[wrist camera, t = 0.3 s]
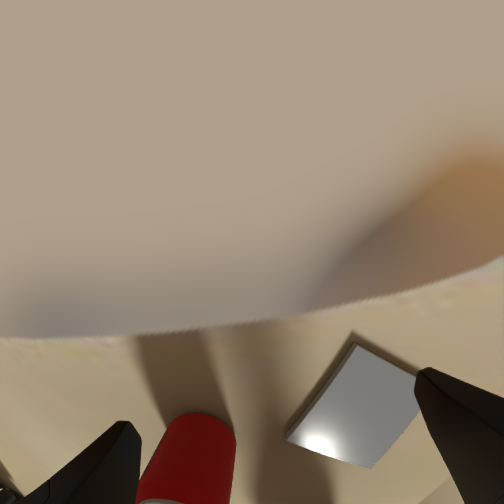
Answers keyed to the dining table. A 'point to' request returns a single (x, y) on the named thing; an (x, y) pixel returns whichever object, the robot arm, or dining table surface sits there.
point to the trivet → (358, 410)
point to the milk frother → (8, 496)
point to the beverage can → (190, 463)
